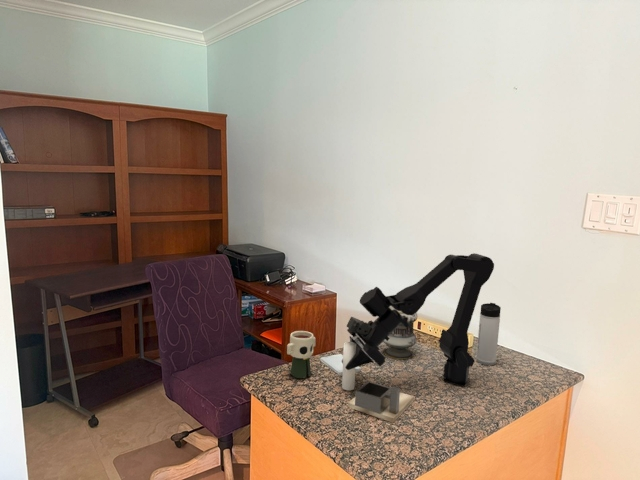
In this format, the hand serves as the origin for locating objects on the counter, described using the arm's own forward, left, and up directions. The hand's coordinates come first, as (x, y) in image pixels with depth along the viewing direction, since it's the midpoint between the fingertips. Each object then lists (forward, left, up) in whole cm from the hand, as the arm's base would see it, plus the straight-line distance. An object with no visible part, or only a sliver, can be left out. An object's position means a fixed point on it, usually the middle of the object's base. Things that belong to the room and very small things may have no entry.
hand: (344, 365), depth 127 cm
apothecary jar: (-2, -35, -7) cm, 36 cm away
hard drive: (+9, -14, -8) cm, 18 cm away
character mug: (+15, 0, -7) cm, 17 cm away
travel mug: (-29, -47, -7) cm, 56 cm away
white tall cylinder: (-1, -1, -7) cm, 7 cm away
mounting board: (-12, +1, -7) cm, 14 cm away
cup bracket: (-14, +5, -6) cm, 16 cm away
